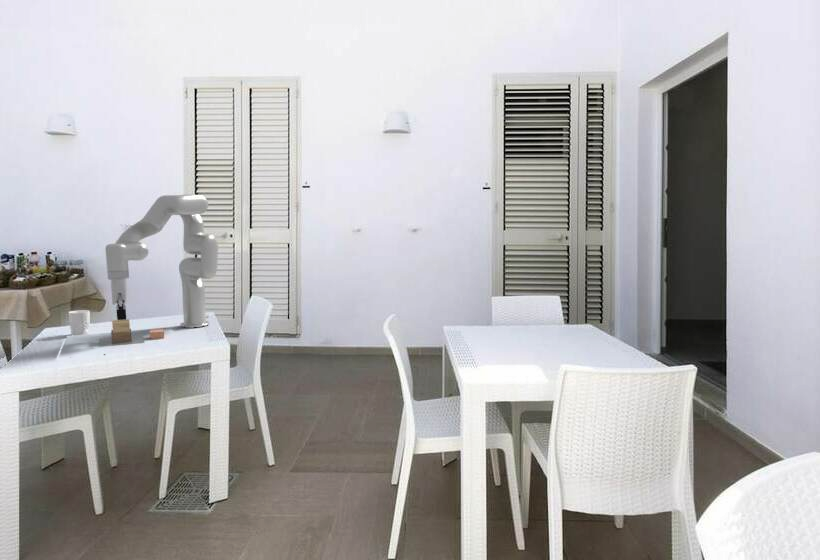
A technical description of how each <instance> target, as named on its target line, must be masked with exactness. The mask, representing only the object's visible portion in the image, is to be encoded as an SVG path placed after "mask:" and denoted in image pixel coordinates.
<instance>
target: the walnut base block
mask: <svg viewBox="0 0 820 560" xmlns="http://www.w3.org/2000/svg"><path fill="white" fill-rule="evenodd" d="M110 334H111V335H110V336H111V337H110V338H112V343H121V342H132V338H131V336H132V329H131V328H130V332H119V333H113V329H111V333H110Z"/></svg>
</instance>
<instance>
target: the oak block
mask: <svg viewBox="0 0 820 560" xmlns="http://www.w3.org/2000/svg"><path fill="white" fill-rule="evenodd" d="M111 321H112V322H111V323H112V330H113V333H119V332H130V329H131V326H130V325H131V324H130V319H129V318H128V319H127V318H126V319H125V320H117V319H114V320H113V319H112V320H111Z"/></svg>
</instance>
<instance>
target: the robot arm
mask: <svg viewBox="0 0 820 560" xmlns="http://www.w3.org/2000/svg"><path fill="white" fill-rule="evenodd" d="M208 207H209V201H208V199H207V198H206V197H205V196H204V195H202V194H179V195H178V194H177V195H176V194H173V195H172V194H171V195H168V194H167V195H164V194H163V195H161V196H159V197H158V198H157V199H156V200H155V201H154V203H153V204H152V205H151V206H150V208H149V209H148V211H147V212H146V213H145V215H144V216H143V217H142V219H140V220H139V221H137V222H136V223H134V224H132V225H131V226H129V228H127V229H126V230H124V231H123V233H122V234H120V236H119V237H118V239H117V240H116V242H115V243H109V244H107V245H106V246H105V249H104V250H105V258H106V259H105V260H106V270H107V271H106V272H107V280H110V288H111V291H110V292H111V299H112V300H111V301H112V305H115V304H116V320H125V319H127V310H126V304H127V300H128V299H127V294H128V293H127V292H128V291H127V279H129V278H130V274H129V273H130V272H129V261H134V262H135V261H142V260H144V259H145V258H147V257H148V255H149V247H148V246H147V245H146V244H145V243H143V242H141V241H142V240H144V239H146V238H148V237H151V236H154V235H156V234H158V233H160V232H161V231H162V230H163V228H164V227H165V225H167V223H168V221H169V220H170V219H171V217H172V216H179V217H180V218H181V219H182V222H183V241H182V242H183V250H184V252H185V253H186V254H189V255H195V256H199V255H200V257H186V258H184V259H182V260H181V261H180V263H179V265H178V271H179V275H180V280H181V290H182V309H183V322H181V323H180V324H179V326H180V327H181V328H184V327H185V328H186V329H192V328H193V329H195V328H194V327H197V328H203V327H202V326H204V327H207V325H208V326H209V325H210V321H208V320H207V319H209V318H210V314H209V313H206V298H205V295H206V294H205V285H204V282H203V280H210V279H213V278H215V276H216V274H217V271H218V263H219V262H218V261H219V259H218V258H219V243H218V241H217V239H216V237H215V236H214V235H212V234H208V233H205V232H204V230H205V228H204V227H205V226H204V220H203V218H202V216H201V215H202V214H204V213H205V212H207V210H208ZM185 328H184V329H185Z"/></svg>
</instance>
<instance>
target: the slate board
mask: <svg viewBox="0 0 820 560" xmlns="http://www.w3.org/2000/svg"><path fill="white" fill-rule="evenodd" d="M131 338H132V342H121V343H112V338H111V337H105V338H99V341H98V348H102V347H103V348H105V347H111V346H112V347H114V346H116V347H117V346H127V345H134V344H136V345H137V344H145V338H144V335H143V334H141V335H140V334H139V335H138V334H137V335H131Z"/></svg>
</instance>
